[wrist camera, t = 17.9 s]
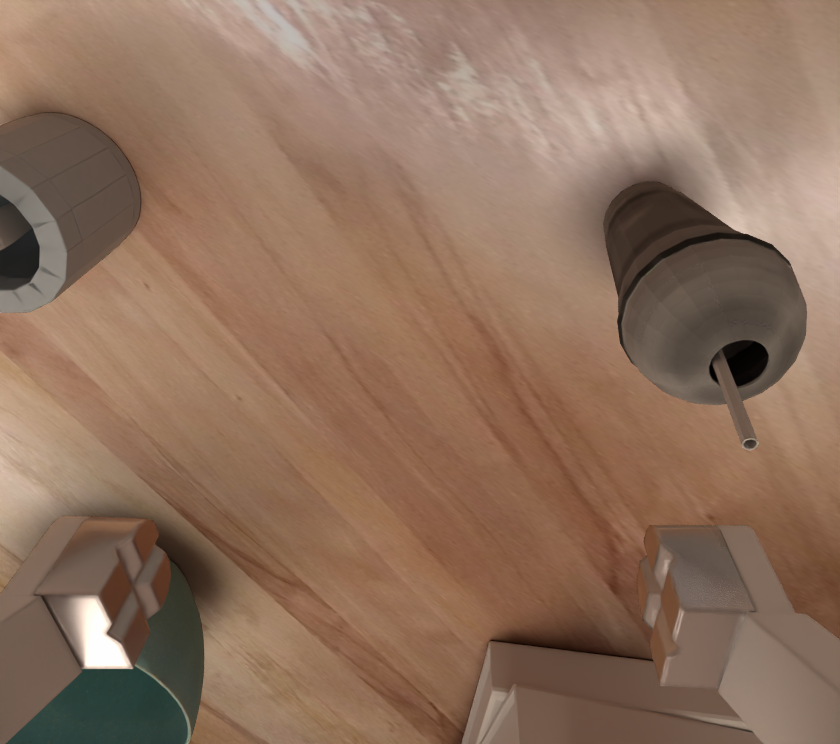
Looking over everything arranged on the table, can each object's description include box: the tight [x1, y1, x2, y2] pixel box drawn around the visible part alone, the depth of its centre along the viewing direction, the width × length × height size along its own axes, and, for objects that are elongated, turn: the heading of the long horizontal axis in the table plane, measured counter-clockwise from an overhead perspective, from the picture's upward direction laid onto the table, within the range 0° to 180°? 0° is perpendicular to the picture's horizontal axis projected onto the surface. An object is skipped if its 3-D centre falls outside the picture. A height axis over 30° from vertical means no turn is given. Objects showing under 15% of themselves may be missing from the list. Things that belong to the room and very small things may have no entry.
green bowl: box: [6, 558, 204, 744], centre depth 51 cm, size 18×18×12 cm
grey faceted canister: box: [0, 113, 141, 313], centre depth 34 cm, size 8×8×8 cm
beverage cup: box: [603, 182, 807, 450], centre depth 28 cm, size 7×7×20 cm
